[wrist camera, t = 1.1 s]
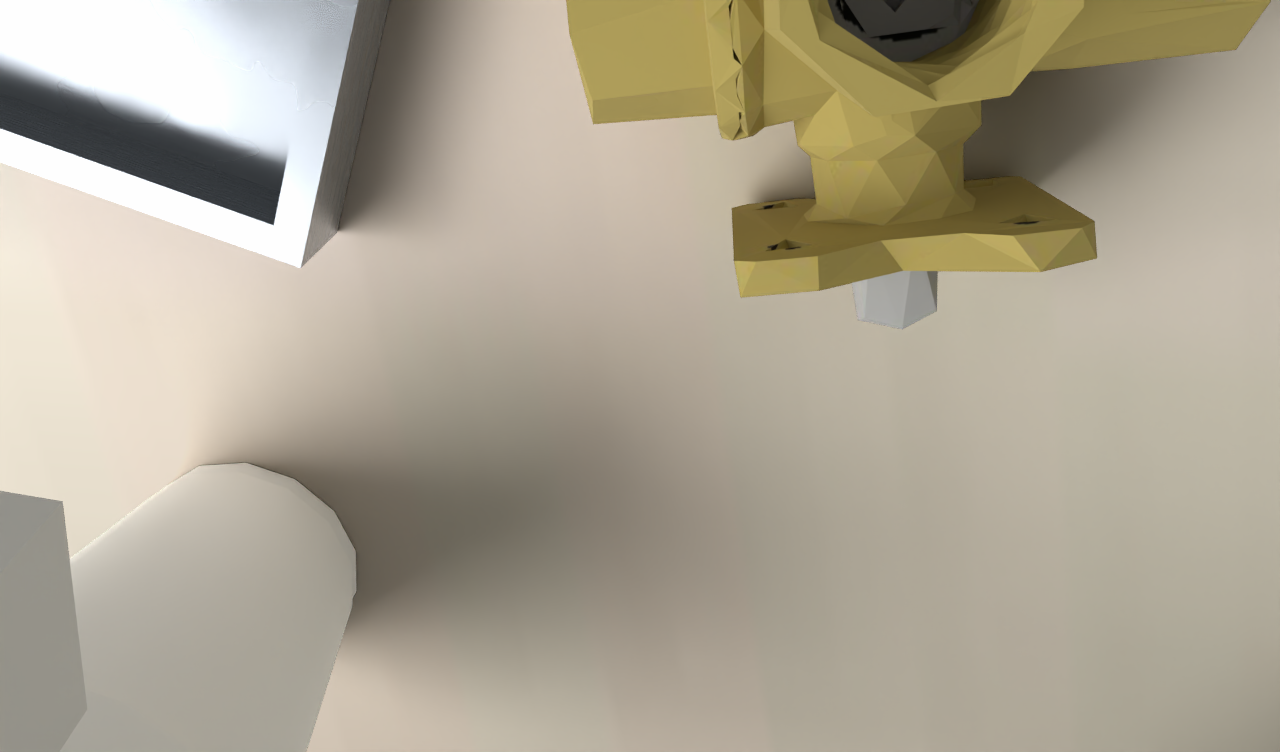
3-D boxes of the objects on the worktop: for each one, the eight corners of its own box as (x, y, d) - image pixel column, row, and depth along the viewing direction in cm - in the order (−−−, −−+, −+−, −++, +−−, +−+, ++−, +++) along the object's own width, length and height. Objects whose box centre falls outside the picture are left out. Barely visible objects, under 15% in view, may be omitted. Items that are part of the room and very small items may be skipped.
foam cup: (36, 460, 34) (-349, 802, 23) (316, 373, 32) (46, 704, 20) (197, 711, 38) (-65, 1118, 26) (460, 649, 36) (299, 1065, 24)
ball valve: (580, -129, 27) (635, 307, 30) (496, -203, 17) (590, 459, 20) (1169, -212, 25) (1166, 252, 28) (1446, -343, 16) (1399, 387, 19)
